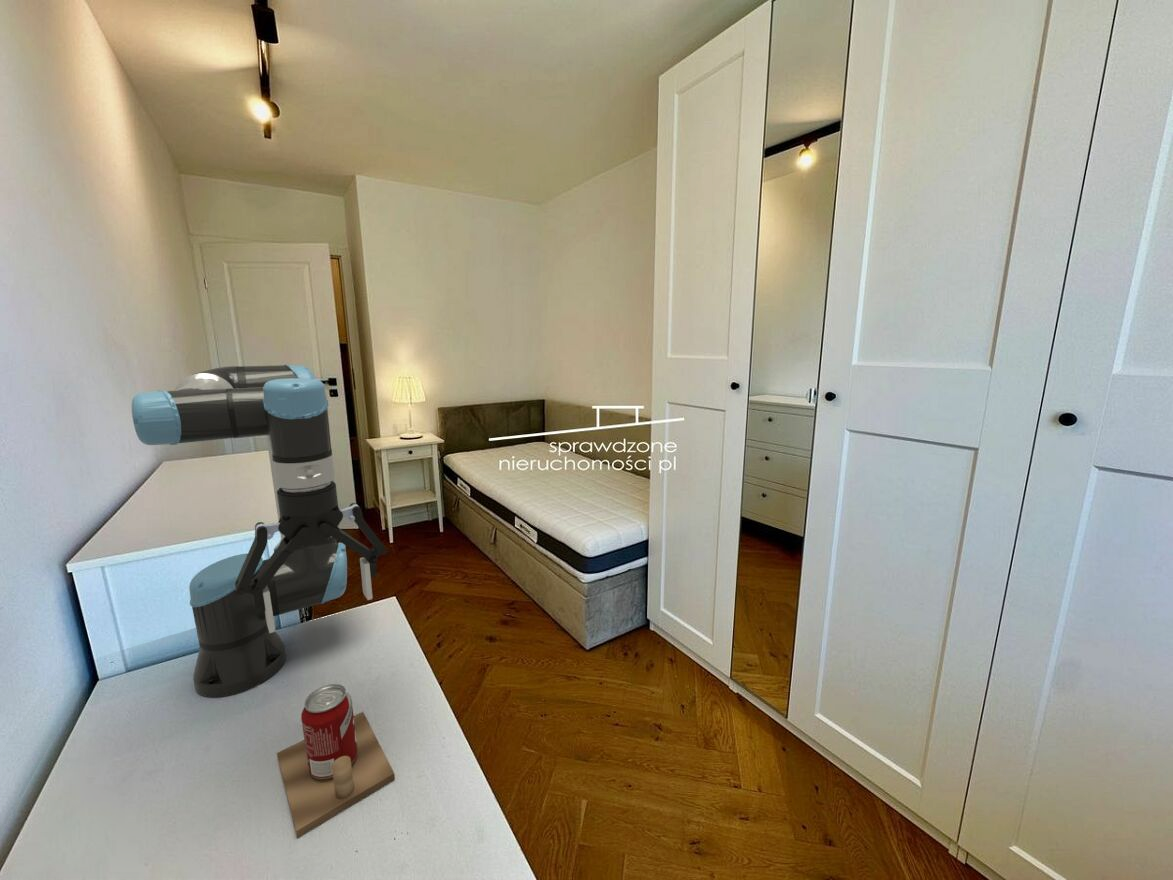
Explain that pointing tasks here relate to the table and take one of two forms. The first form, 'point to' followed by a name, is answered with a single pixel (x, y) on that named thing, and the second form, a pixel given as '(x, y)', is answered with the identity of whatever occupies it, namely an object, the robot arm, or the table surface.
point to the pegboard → (333, 779)
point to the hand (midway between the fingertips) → (322, 611)
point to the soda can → (328, 729)
